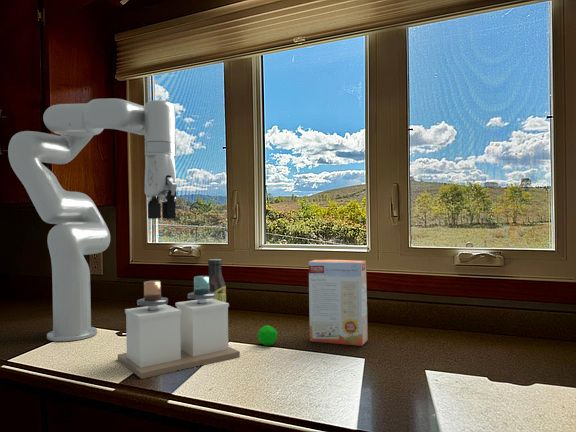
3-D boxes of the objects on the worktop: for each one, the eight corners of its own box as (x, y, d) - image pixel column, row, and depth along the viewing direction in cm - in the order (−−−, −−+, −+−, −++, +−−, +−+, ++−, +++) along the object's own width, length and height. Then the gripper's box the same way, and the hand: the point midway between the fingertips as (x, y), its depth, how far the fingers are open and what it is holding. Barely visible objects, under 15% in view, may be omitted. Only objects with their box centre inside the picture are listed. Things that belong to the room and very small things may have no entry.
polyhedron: (280, 343, 117) (280, 324, 117) (271, 348, 113) (271, 329, 113) (263, 341, 120) (263, 323, 119) (254, 346, 115) (253, 327, 115)
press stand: (117, 359, 106) (116, 307, 106) (208, 342, 120) (207, 295, 120) (141, 378, 93) (140, 319, 93) (239, 356, 107) (238, 305, 107)
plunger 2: (183, 336, 111) (182, 276, 111) (208, 332, 114) (207, 274, 114) (195, 342, 105) (194, 279, 105) (221, 337, 109) (220, 276, 109)
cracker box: (368, 341, 119) (367, 259, 119) (362, 347, 113) (361, 262, 113) (316, 336, 124) (315, 258, 124) (309, 341, 118) (307, 260, 118)
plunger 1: (133, 345, 103) (132, 281, 103) (162, 340, 107) (161, 278, 107) (143, 352, 98) (142, 284, 98) (173, 346, 102) (172, 281, 102)
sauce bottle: (221, 329, 133) (220, 260, 133) (201, 328, 134) (200, 260, 134) (229, 324, 139) (228, 258, 139) (209, 323, 140) (208, 258, 140)
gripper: (134, 153, 121) (135, 218, 121) (158, 145, 107) (159, 218, 107) (161, 155, 126) (162, 218, 126) (188, 147, 112) (189, 218, 112)
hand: (161, 218), depth 116 cm, fingers open, 9 cm apart
